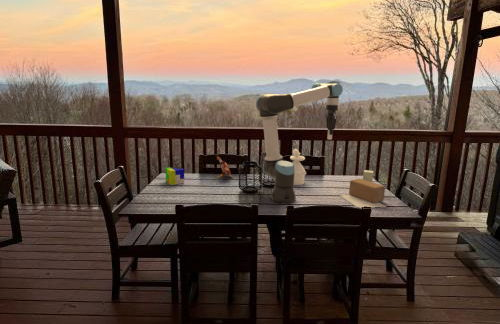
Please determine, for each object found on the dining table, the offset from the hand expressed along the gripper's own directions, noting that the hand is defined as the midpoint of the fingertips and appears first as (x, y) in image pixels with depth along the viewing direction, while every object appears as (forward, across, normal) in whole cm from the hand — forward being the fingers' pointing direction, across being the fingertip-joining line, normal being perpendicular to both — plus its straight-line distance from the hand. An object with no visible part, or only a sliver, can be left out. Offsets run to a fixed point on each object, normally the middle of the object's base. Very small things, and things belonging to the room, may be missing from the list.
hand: (329, 139), depth 227 cm
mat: (+34, -32, -10) cm, 48 cm away
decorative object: (+35, +13, +18) cm, 41 cm away
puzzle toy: (+35, +26, +105) cm, 113 cm away
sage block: (+34, -12, -25) cm, 44 cm away
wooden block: (+29, -17, -12) cm, 36 cm away
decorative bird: (+35, +34, +68) cm, 83 cm away
